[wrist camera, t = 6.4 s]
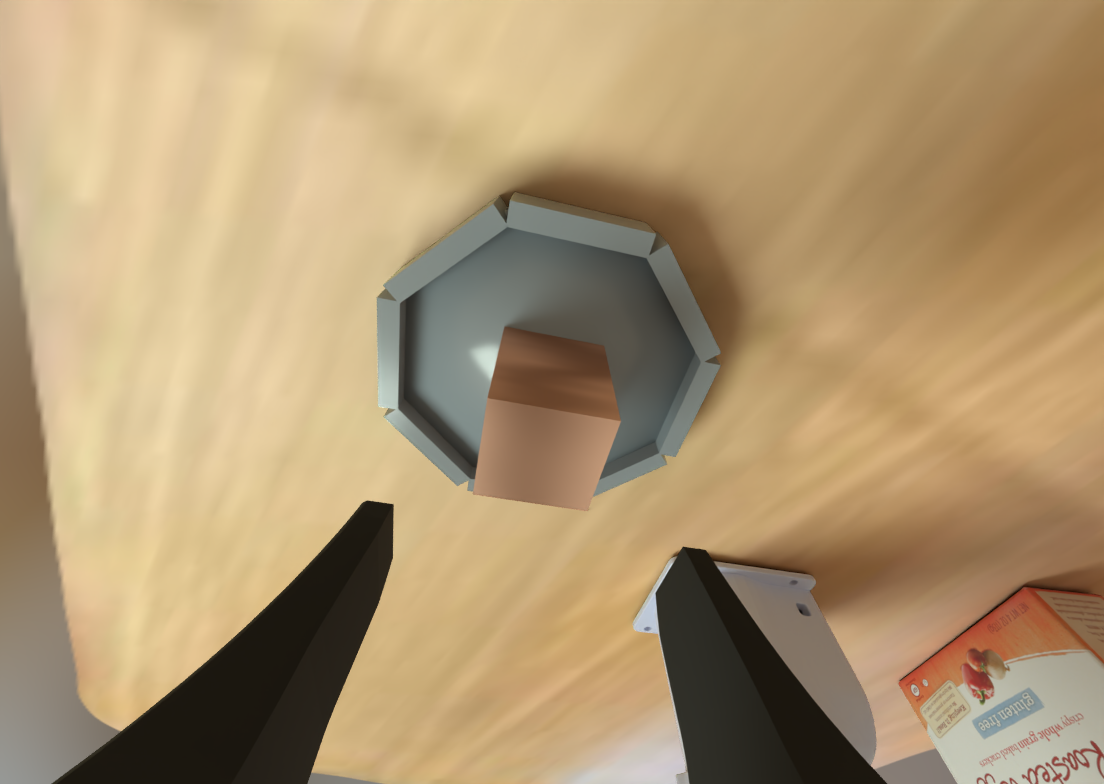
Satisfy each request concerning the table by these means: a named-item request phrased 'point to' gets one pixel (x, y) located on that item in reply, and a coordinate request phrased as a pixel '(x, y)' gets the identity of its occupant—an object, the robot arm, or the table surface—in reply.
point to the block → (547, 421)
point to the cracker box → (1020, 693)
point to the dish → (542, 328)
